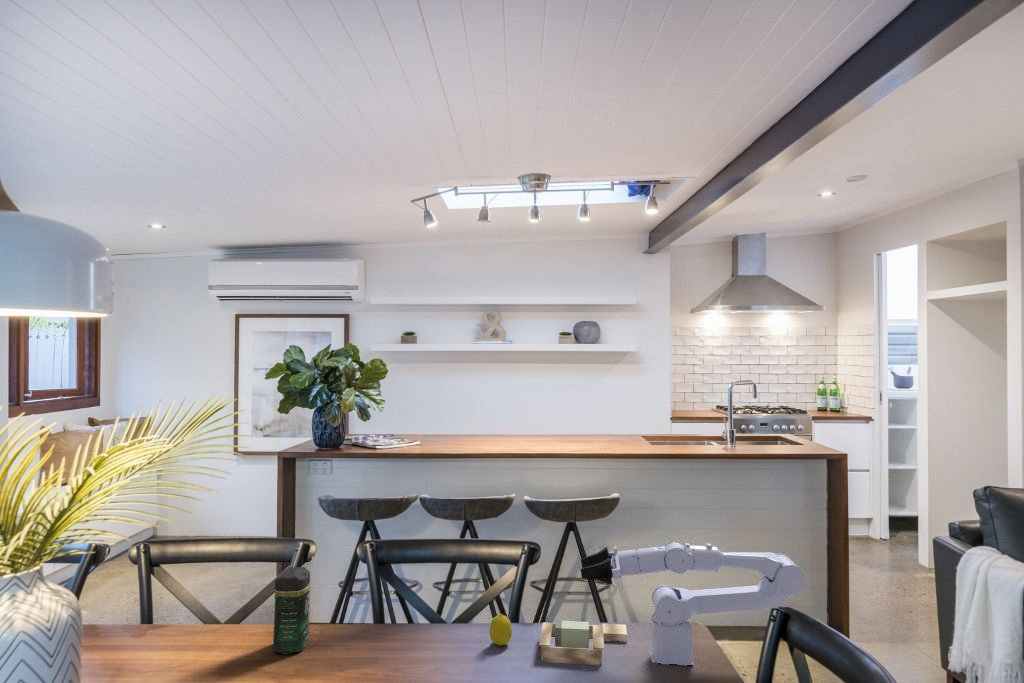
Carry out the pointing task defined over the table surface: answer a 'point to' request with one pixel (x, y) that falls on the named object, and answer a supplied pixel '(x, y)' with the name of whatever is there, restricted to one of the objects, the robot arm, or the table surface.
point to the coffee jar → (291, 610)
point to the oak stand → (614, 632)
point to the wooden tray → (569, 653)
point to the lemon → (500, 630)
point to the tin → (572, 634)
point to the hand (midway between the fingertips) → (581, 568)
